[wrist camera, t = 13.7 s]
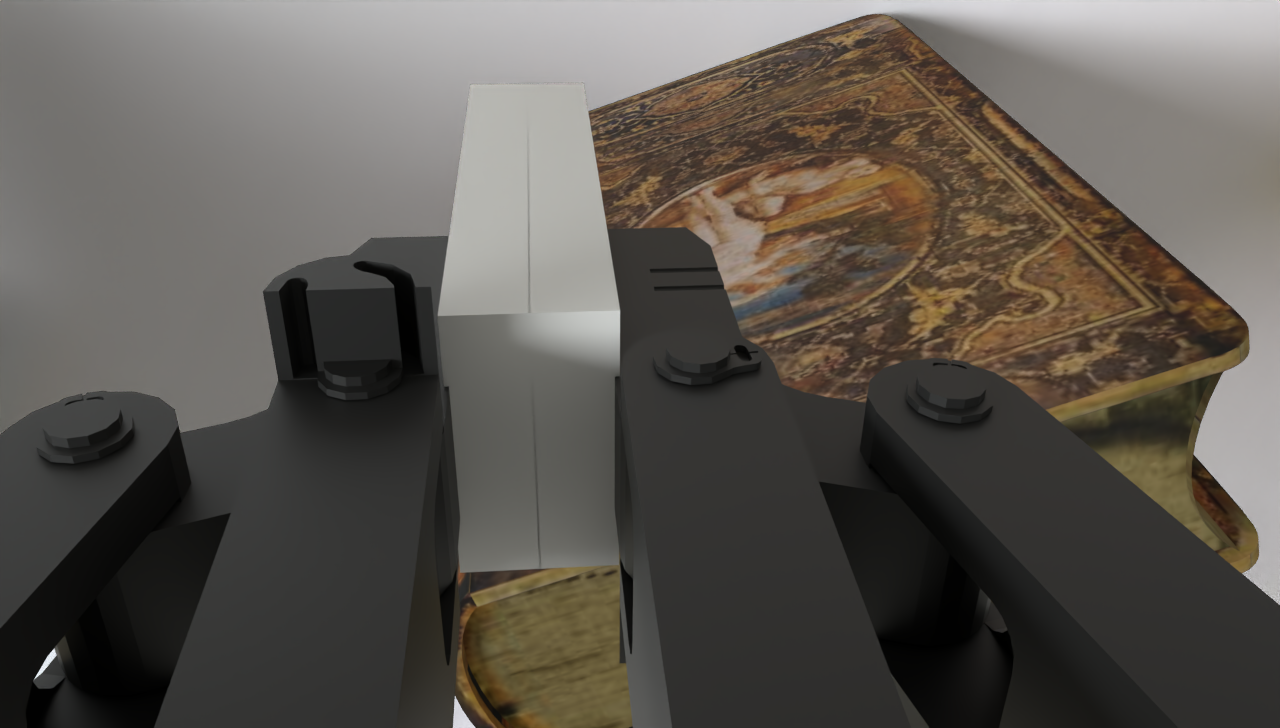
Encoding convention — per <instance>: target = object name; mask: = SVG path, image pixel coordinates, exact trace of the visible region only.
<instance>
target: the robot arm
mask: <svg viewBox="0 0 1280 728" xmlns="http://www.w3.org/2000/svg"><path fill="white" fill-rule="evenodd" d="M263 294H264V300H265V306H266V311H267V317H268V323H269V329H270V334H271V340H272V346H273V351H274V357H275V363H276V369H277V374H278V380H279V381H278V383H277V386H276V389H275V392H274V395H273V397H272V400H271V403H270V406H269V408H268V409H267V410H265V411H262V412H260V413H258V414H255V415H253V416H251V417H247V418H243V419H240V420H236V421H233V422H229V423H225V424H221V425H216V426H211V427H207V428H202V429H197V430H193V431H188V432H183V433H180V430H179V426H178V422H177V418H176V413H175V409H173V408H172V407H171V406H169V405H168V404H167V403H165V402H164V401H163V400H161V399H160V398H158V397H154V396H149V395H145V394H141V393H136V392H106V391H100V392H91V393H86V395H84V396H82V394H80V395H76V396H71V397H67V398H65V399H62V400H61V401H59V402H57V403H55V404H52V405H49V406H47V407H44V408H42V409H39V410H36V411H34V412H32V413H31V414H29V415H28V416H26V417H25V418H23V419H22V420H20V421H18V422H17V423H15V424H14V425H12V426H11V427H9V428H8V429H7V430H5V431H4V432H3V433H2V434H1V435H0V728H453V714H454V699H455V684H456V668H457V653H458V638H459V623H460V602H459V591H458V580H457V569H456V567H457V554H458V553H459V565H460V573H464V572H484V571H505V570H525V569H545V568H566V567H586V566H607V565H619V552H620V658H619V663H626V666H627V676H628V686H629V695H630V705H631V715H632V724H633V728H1280V605H1279V604H1277V603H1276V602H1275V601H1274V600H1273V599H1271V598H1270V597H1269V596H1268V595H1267V594H1265V593H1264V592H1263V591H1262V590H1261V589H1260V588H1258V587H1257V586H1256V585H1255V584H1254V583H1252V582H1251V581H1250V580H1249V579H1248V578H1246V577H1245V576H1244V575H1243V574H1242V573H1240V572H1239V571H1238V570H1237V569H1236V568H1234V567H1233V566H1232V565H1231V564H1230V563H1228V562H1227V561H1226V560H1225V559H1224V558H1222V557H1221V556H1220V555H1219V554H1218V553H1216V552H1215V551H1214V550H1213V549H1212V548H1210V547H1209V546H1208V545H1207V544H1206V543H1204V542H1203V541H1202V540H1201V539H1200V538H1198V537H1197V536H1196V535H1195V534H1194V533H1192V532H1191V531H1190V530H1189V529H1188V528H1186V527H1185V526H1184V525H1183V524H1182V523H1180V522H1179V521H1178V520H1177V519H1176V518H1174V517H1173V516H1172V515H1171V514H1170V513H1168V512H1167V511H1166V510H1165V509H1164V508H1162V507H1161V506H1160V505H1159V504H1158V503H1157V502H1155V501H1154V500H1153V499H1152V498H1151V497H1149V496H1148V495H1147V494H1146V493H1145V492H1143V491H1142V490H1141V489H1140V488H1139V487H1137V486H1136V485H1135V484H1134V483H1133V482H1131V481H1130V480H1129V479H1128V478H1127V477H1125V476H1124V475H1123V474H1122V473H1121V472H1119V471H1118V470H1117V469H1116V468H1115V467H1113V466H1112V465H1111V464H1110V463H1109V462H1107V461H1106V460H1105V459H1104V458H1103V457H1101V456H1100V455H1099V454H1098V453H1097V452H1095V451H1094V450H1093V449H1092V448H1091V447H1089V446H1088V445H1087V444H1086V443H1085V442H1083V441H1082V440H1081V439H1080V438H1079V437H1077V436H1076V435H1075V434H1074V433H1073V432H1071V431H1070V430H1069V429H1068V428H1067V427H1065V426H1064V425H1063V424H1062V423H1061V422H1060V421H1058V420H1057V419H1056V418H1055V417H1054V416H1052V415H1051V414H1050V413H1049V412H1048V411H1046V410H1045V409H1044V408H1043V407H1042V406H1040V405H1039V404H1038V403H1037V402H1036V401H1034V400H1033V399H1032V398H1031V397H1030V396H1028V395H1027V394H1026V393H1025V392H1024V391H1022V390H1021V389H1020V388H1019V387H1018V386H1016V385H1014V384H1013V383H1011V382H1009V381H1008V380H1006V379H1005V378H1003V377H1001V376H1000V375H998V374H996V373H995V372H992V371H989V370H986V369H983V368H980V367H977V366H974V365H971V364H970V363H968V362H964V361H959V360H954V359H952V360H951V361H948V359H945V358H930V359H923V360H907V361H903V362H900V363H897V364H894V365H891V366H888V367H884V368H883V369H882V370H881V371H879V372H878V373H877V374H876V375H875V376H874V377H873V378H871V379H870V382H869V388H868V393H867V400H866V403H865V402H859V401H852V400H845V399H838V398H831V397H825V396H820V395H816V394H811V393H806V392H802V391H800V390H797V389H794V388H791V387H788V386H786V385H783V384H782V383H781V381H780V378H779V375H778V373H777V370H776V367H775V365H774V362H773V361H772V360H771V358H770V357H769V356H768V354H767V353H766V352H765V351H764V349H763V348H761V347H760V346H758V345H756V344H754V343H753V342H751V341H749V340H747V339H745V338H744V337H742V335H741V332H740V329H739V326H738V323H737V320H736V317H735V314H734V312H733V309H732V306H731V303H730V300H729V297H728V294H727V291H726V289H724V283H723V280H722V277H721V274H720V271H718V266H717V263H716V260H715V257H714V254H713V251H712V248H711V245H709V244H708V243H706V242H705V241H704V240H702V239H701V238H700V237H698V236H697V235H696V234H694V233H693V232H692V231H690V230H689V229H688V228H686V227H671V228H629V229H607V225H606V219H605V213H604V207H603V201H602V194H601V188H600V182H599V176H598V169H597V163H596V157H595V151H594V144H593V138H592V132H591V126H590V119H589V113H588V107H587V101H586V94H585V88H584V83H536V84H470V90H469V97H468V104H467V111H466V118H465V125H464V132H463V140H462V147H461V154H460V161H459V168H458V175H457V182H456V189H455V196H454V203H453V210H452V217H451V224H450V231H449V236H438V237H397V238H371V239H370V240H368V241H367V242H366V243H365V244H363V245H362V246H361V247H360V248H358V249H357V250H356V251H355V252H353V253H352V254H351V255H348V256H339V257H330V258H324V259H321V260H317V261H313V262H310V263H306V264H302V265H299V266H296V267H295V268H293V269H291V270H289V271H287V272H285V273H283V274H281V275H279V276H277V277H275V279H274V280H273V281H272V282H271V283H270V284H269V285H268V286H267V288H266V289H265V290H264V291H263ZM991 601H992V602H993V603H992V602H991ZM54 648H55V651H56V654H57V656H56V657H55V658H54V659H53V661H52V662H51V663H50V664H49V666H48V667H47V668H46V669H45V670H44V672H43V673H42V674H41V675H39V676H38V677H37V678H36V679H35V680H34V678H35V677H36V675H37V673H38V671H39V670H40V668H41V666H42V665H43V663H44V661H45V659H46V658H47V656H48V655H49V654H50V652H51V651H52V650H53V649H54Z"/></svg>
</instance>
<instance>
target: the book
mask: <svg viewBox="0 0 1280 728" xmlns="http://www.w3.org/2000/svg"><path fill="white" fill-rule="evenodd" d="M588 113H589V119H590V126H591V132H592V138H593V144H594V151H595V157H596V163H597V169H598V176H599V182H600V188H601V194H602V201H603V207H604V213H605V219H606V225H607V229H629V228H671V227H686V228H688V229H689V230H690V231H692V232H693V233H694V234H696V235H697V236H698V237H700V238H701V239H702V240H704V241H705V242H706V243H708V244H709V245H711V248H712V251H713V254H714V257H715V260H716V263H717V266H718V271H720V274H721V277H722V280H723V283H724V289H726V291H727V294H728V297H729V300H730V303H731V306H732V309H733V312H734V314H735V317H736V320H737V323H738V326H739V329H740V332H741V335H742V337H744V338H745V339H747V340H749V341H751V342H753V343H754V344H756V345H758V346H760V347H761V348H763V349H764V351H765V352H766V353H767V354H768V356H769V357H770V358H771V360H772V361H773V362H774V365H775V367H776V370H777V373H778V375H779V378H780V381H781V383H782V384H783V385H786V386H788V387H791V388H794V389H797V390H800V391H802V392H806V393H811V394H816V395H820V396H825V397H831V398H838V399H845V400H852V401H859V402H865V403H866V400H867V393H868V388H869V382H870V379H871V378H873V377H874V376H875V375H876V374H877V373H878V372H879V371H881V370H882V369H883V368H884V367H888V366H891V365H894V364H897V363H900V362H903V361H907V360H923V359H930V358H945V359H948V361H951V360H952V359H954V360H959V361H964V362H968V363H970V364H971V365H974V366H977V367H980V368H983V369H986V370H989V371H992V372H995V373H996V374H998V375H1000V376H1001V377H1003V378H1005V379H1006V380H1008V381H1009V382H1011V383H1013V384H1014V385H1016V386H1018V387H1019V388H1020V389H1021V390H1022V391H1024V392H1025V393H1026V394H1027V395H1028V396H1030V397H1031V398H1032V399H1033V400H1034V401H1036V402H1037V403H1038V404H1039V405H1040V406H1042V407H1043V408H1044V409H1045V410H1046V411H1048V412H1049V413H1050V414H1051V415H1052V416H1054V417H1055V418H1056V419H1057V420H1058V421H1060V422H1061V423H1062V424H1063V425H1064V426H1065V427H1067V428H1068V429H1069V430H1070V431H1071V432H1073V433H1074V434H1075V435H1076V436H1077V437H1079V438H1080V439H1081V440H1082V441H1083V442H1085V443H1086V444H1087V445H1088V446H1089V447H1091V448H1092V449H1093V450H1094V451H1095V452H1097V453H1098V454H1099V455H1100V456H1101V457H1103V458H1104V459H1105V460H1106V461H1107V462H1109V463H1110V464H1111V465H1112V466H1113V467H1115V468H1116V469H1117V470H1118V471H1119V472H1121V473H1122V474H1123V475H1124V476H1125V477H1127V478H1128V479H1129V480H1130V481H1131V482H1133V483H1134V484H1135V485H1136V486H1137V487H1139V488H1140V489H1141V490H1142V491H1143V492H1145V493H1146V494H1147V495H1148V496H1149V497H1151V498H1152V499H1153V500H1154V501H1155V502H1157V503H1158V504H1159V505H1160V506H1161V507H1162V508H1164V509H1165V510H1166V511H1167V512H1168V513H1170V514H1171V515H1172V516H1173V517H1174V518H1176V519H1177V520H1178V521H1179V522H1180V523H1182V524H1183V525H1184V526H1185V527H1186V528H1188V529H1189V530H1190V531H1191V532H1192V533H1194V534H1195V535H1196V536H1197V537H1198V538H1200V539H1201V540H1202V541H1203V542H1204V543H1206V544H1207V545H1208V546H1209V547H1210V548H1212V549H1213V550H1214V551H1215V552H1216V553H1218V554H1219V555H1220V556H1221V557H1222V558H1224V559H1225V560H1226V561H1227V562H1228V563H1230V564H1231V565H1232V566H1233V567H1234V568H1236V569H1237V570H1238V571H1239V572H1240V573H1243V572H1245V571H1247V570H1249V569H1250V568H1251V567H1252V566H1253V565H1254V564H1255V563H1256V562H1257V560H1258V557H1259V543H1258V534H1257V531H1256V529H1255V527H1254V525H1253V524H1252V523H1251V521H1250V520H1249V519H1248V518H1247V516H1246V515H1245V514H1244V512H1243V511H1242V510H1241V508H1240V507H1239V506H1238V505H1237V504H1236V503H1235V501H1234V500H1233V499H1232V498H1231V497H1230V496H1229V494H1228V493H1227V492H1226V491H1225V490H1224V489H1223V488H1222V486H1221V485H1220V484H1219V483H1218V482H1217V481H1216V479H1215V478H1214V477H1213V476H1212V475H1211V474H1210V473H1209V471H1208V470H1207V469H1206V468H1205V467H1204V466H1203V465H1202V464H1201V462H1200V461H1199V460H1198V459H1197V458H1196V457H1195V456H1194V455H1193V453H1194V447H1195V442H1196V438H1197V434H1198V431H1199V427H1200V424H1201V421H1202V418H1203V415H1204V413H1205V410H1206V408H1207V405H1208V402H1209V400H1210V398H1211V396H1212V393H1213V391H1214V389H1215V387H1216V385H1217V383H1218V381H1219V379H1220V377H1221V375H1222V373H1223V371H1226V370H1228V369H1231V368H1233V367H1235V366H1237V365H1238V364H1240V363H1241V362H1242V361H1244V360H1245V358H1246V357H1247V356H1248V354H1249V330H1248V326H1247V324H1246V322H1245V321H1244V319H1243V318H1242V317H1241V316H1240V315H1239V314H1238V313H1237V312H1236V311H1235V310H1234V309H1233V308H1232V307H1231V306H1230V305H1229V304H1227V303H1226V302H1225V301H1224V300H1223V299H1222V298H1221V297H1220V296H1218V295H1217V294H1216V293H1215V292H1214V291H1213V290H1212V289H1210V288H1209V287H1208V286H1207V285H1206V284H1205V283H1204V282H1203V281H1201V280H1200V279H1199V278H1198V277H1197V276H1196V275H1194V274H1193V273H1192V272H1191V271H1190V270H1189V269H1187V268H1186V267H1185V266H1184V265H1183V264H1182V263H1180V262H1179V261H1178V260H1177V259H1176V258H1175V257H1173V256H1172V255H1171V254H1170V253H1169V252H1168V251H1166V250H1165V249H1164V248H1163V247H1162V246H1161V245H1159V244H1158V243H1157V242H1156V241H1155V240H1154V239H1152V238H1151V237H1150V236H1149V235H1148V234H1147V233H1145V232H1144V231H1143V230H1142V229H1141V228H1140V227H1139V226H1137V225H1136V224H1135V223H1134V222H1133V221H1132V220H1130V219H1129V218H1128V217H1127V216H1126V215H1125V214H1123V213H1122V212H1121V211H1120V210H1119V209H1118V208H1116V207H1115V206H1114V205H1113V204H1112V203H1111V202H1109V201H1108V200H1107V199H1106V198H1105V197H1104V196H1102V195H1101V194H1100V193H1099V192H1098V191H1097V190H1095V189H1094V188H1093V187H1092V186H1091V185H1090V184H1088V183H1087V182H1086V181H1085V180H1084V179H1083V178H1081V177H1080V176H1079V175H1078V174H1077V173H1076V172H1075V171H1073V170H1072V169H1071V168H1070V167H1069V166H1068V165H1066V164H1065V163H1064V162H1063V161H1062V160H1061V159H1059V158H1058V157H1057V156H1056V155H1055V154H1054V153H1052V152H1051V151H1050V150H1049V149H1048V148H1047V147H1045V146H1044V145H1043V144H1042V143H1041V142H1040V141H1038V140H1037V139H1036V138H1035V137H1034V136H1033V135H1031V134H1030V133H1029V132H1028V131H1027V130H1026V129H1024V128H1023V127H1022V126H1021V125H1020V124H1019V123H1018V122H1016V121H1015V120H1014V119H1013V118H1012V117H1011V116H1009V115H1008V114H1007V113H1006V112H1005V111H1004V110H1002V109H1001V108H1000V107H999V106H998V105H997V104H995V103H994V102H993V101H992V100H991V99H990V98H988V97H987V96H986V95H985V94H984V93H983V92H981V91H980V90H979V89H978V88H977V87H976V86H974V85H973V84H972V83H971V82H970V81H969V80H967V79H966V78H965V77H964V76H963V75H962V74H960V73H959V72H958V71H957V70H956V69H955V68H954V67H952V66H951V65H950V64H949V63H948V62H947V61H945V60H944V59H943V58H942V57H941V56H940V55H938V54H937V53H936V52H935V51H934V50H933V49H931V48H930V47H929V46H928V45H927V44H926V43H924V42H923V41H922V40H921V39H920V38H919V37H917V36H916V35H915V34H914V33H913V32H912V31H910V30H909V29H908V28H907V27H905V26H904V25H903V24H902V23H900V22H899V21H898V20H895V19H893V18H892V17H890V16H887V15H882V14H872V15H866V16H862V17H859V18H856V19H853V20H850V21H847V22H844V23H841V24H838V25H835V26H832V27H829V28H826V29H823V30H820V31H817V32H814V33H811V34H808V35H805V36H802V37H799V38H796V39H793V40H790V41H787V42H785V43H782V44H779V45H776V46H773V47H770V48H767V49H765V50H762V51H759V52H756V53H753V54H750V55H748V56H745V57H742V58H739V59H736V60H733V61H731V62H728V63H725V64H722V65H719V66H716V67H714V68H711V69H708V70H705V71H702V72H699V73H697V74H694V75H691V76H688V77H685V78H682V79H680V80H677V81H674V82H671V83H668V84H665V85H663V86H660V87H657V88H654V89H651V90H648V91H646V92H643V93H640V94H637V95H634V96H631V97H629V98H626V99H623V100H620V101H617V102H614V103H612V104H609V105H606V106H603V107H600V108H597V109H595V110H592V111H589V112H588ZM456 569H457V580H458V591H459V602H460V623H459V638H458V653H457V668H456V684H455V696H456V698H457V700H458V702H459V704H460V706H461V708H462V710H463V711H464V713H465V714H466V715H467V717H468V718H469V720H470V721H471V723H472V724H473V725H474V726H475V727H476V728H633V724H632V715H631V705H630V695H629V686H628V676H627V666H626V663H619V658H620V552H619V565H607V566H586V567H566V568H545V569H525V570H505V571H484V572H464V573H460V565H459V553H458V554H457V567H456ZM991 602H992V601H991ZM992 603H993V602H992Z"/></svg>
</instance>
